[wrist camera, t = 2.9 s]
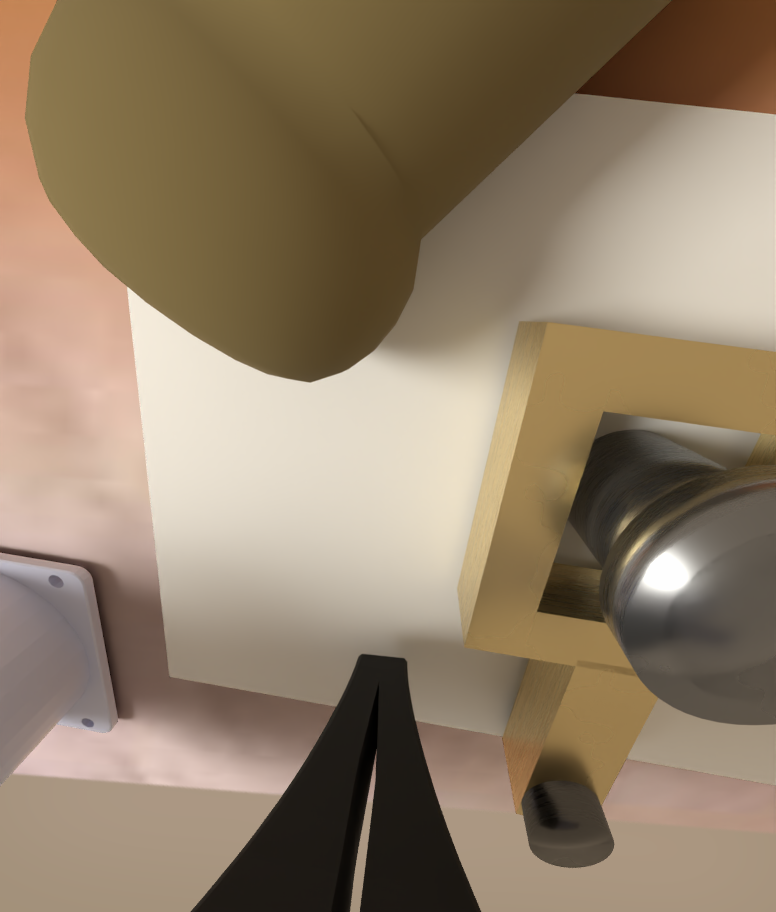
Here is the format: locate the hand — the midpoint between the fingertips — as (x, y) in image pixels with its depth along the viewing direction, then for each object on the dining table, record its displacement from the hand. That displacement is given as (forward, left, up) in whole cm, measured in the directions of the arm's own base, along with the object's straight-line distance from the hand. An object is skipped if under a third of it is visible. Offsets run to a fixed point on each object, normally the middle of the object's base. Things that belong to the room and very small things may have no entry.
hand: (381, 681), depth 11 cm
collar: (+5, +4, -1) cm, 6 cm away
